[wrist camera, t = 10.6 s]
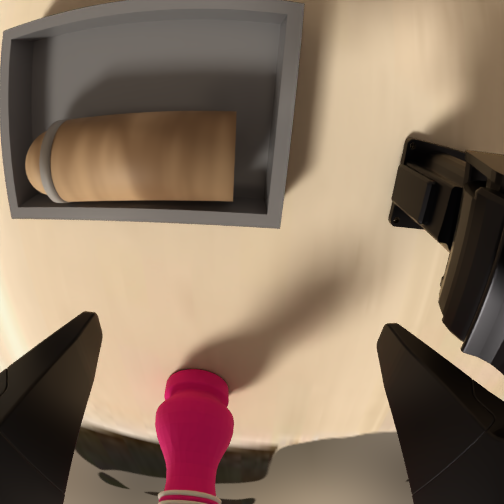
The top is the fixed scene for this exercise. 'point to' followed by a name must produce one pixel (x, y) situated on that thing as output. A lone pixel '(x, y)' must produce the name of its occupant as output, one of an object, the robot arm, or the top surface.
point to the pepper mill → (193, 435)
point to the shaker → (136, 157)
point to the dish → (157, 94)
